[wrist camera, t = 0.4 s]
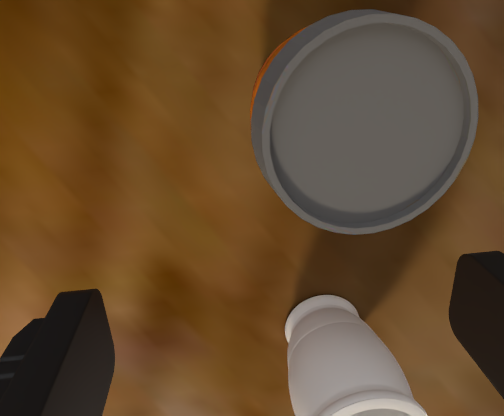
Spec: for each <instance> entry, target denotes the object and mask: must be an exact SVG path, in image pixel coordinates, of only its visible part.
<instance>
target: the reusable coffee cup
mask: <svg viewBox="0 0 504 416" xmlns="http://www.w3.org/2000/svg"><path fill="white" fill-rule="evenodd" d="M250 120H251V136H252V145H253V149H254V153H255V157H256V161H257V163H258V165H259V167H260V169H261V171H262V174H263V176H264V178H265V179H266V180H267V182H268V183H269V184H270V186H271V187H272V188H273V190H274V191H275V192H276V193H277V195H278V196H279V197H280V198H281V199H282V201H283V202H284V203H285V204H286V206H287V207H289V208H290V209H291V210H292V211H293V212H294V213H296V214H297V215H298V216H299V217H300V218H301V219H303V220H305V221H307V222H309V223H311V224H312V225H314V226H316V227H318V228H321V229H325V230H328V231H331V232H335V233H342V234H352V235H357V234H369V233H376V232H380V231H384V230H387V229H391V228H394V227H396V226H398V225H401V224H403V223H405V222H407V221H410V220H411V219H413V218H414V217H416V216H418V215H419V214H421V213H422V212H424V211H425V210H427V209H428V208H429V207H430V206H431V205H432V204H434V203H435V202H436V201H437V200H438V199H439V198H440V197H441V196H442V195H443V194H444V193H445V192H446V191H447V189H448V188H449V187H450V186H451V184H452V183H453V182H454V181H455V179H456V178H457V176H458V175H459V173H460V171H461V169H462V168H463V166H464V164H465V162H466V161H467V158H468V156H469V153H470V150H471V147H472V145H473V142H474V139H475V133H476V128H477V122H478V95H477V90H476V85H475V81H474V76H473V74H472V72H471V70H470V67H469V65H468V63H467V61H466V59H465V57H464V55H463V54H462V53H461V52H460V50H459V49H458V48H457V46H456V45H455V44H454V42H453V41H452V40H451V39H450V38H448V37H447V36H446V35H445V34H443V33H442V32H441V31H439V30H438V29H437V28H436V27H434V26H432V25H430V24H428V23H425V22H423V21H421V20H419V19H417V18H414V17H409V16H404V15H399V14H395V13H390V12H384V11H379V10H374V9H367V10H349V11H345V12H342V13H338V14H334V15H330V16H327V17H325V18H323V19H321V20H319V21H317V22H315V23H313V24H311V25H309V26H307V27H305V28H303V29H301V30H299V31H297V32H296V33H295V34H293V35H292V36H291V37H289V38H288V39H287V40H285V41H284V42H283V43H281V44H280V45H279V46H278V47H277V48H276V49H275V50H274V51H273V52H272V53H271V54H270V56H269V57H268V58H267V59H266V61H265V63H264V64H263V66H262V68H261V69H260V71H259V73H258V76H257V79H256V82H255V84H254V88H253V94H252V101H251V109H250Z"/></svg>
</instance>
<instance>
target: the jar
mask: <svg viewBox="0 0 504 416" xmlns="http://www.w3.org/2000/svg"><path fill="white" fill-rule="evenodd" d="M285 336H286V339H287V342H288V343H289V345H288V354H287V360H288V382H289V392H290V398H291V402H292V406H293V410H294V413H295V416H428V415H427V413H426V411H425V410H424V409H423V407H422V406H421V405H420V404H419V403H418V402H416V401H415V400H414V398H413V395H412V392H411V389H410V387H409V384H408V382H407V379H406V377H405V375H404V373H403V371H402V369H401V367H400V365H399V364H398V362H397V360H396V359H395V357H394V356H393V354H392V353H391V352H390V350H389V349H388V348H387V346H386V345H385V344H384V343H383V342H382V341H381V339H380V338H379V337H378V336H377V335H376V334H375V333H374V331H373V330H372V329H371V328H370V327H369V326H368V325H367V324H366V323H365V322H364V321H363V320H362V319H360V318H359V315H358V312H357V310H356V309H355V307H354V306H353V305H352V304H351V303H350V302H349V301H347V300H345V299H343V298H341V297H338V296H334V295H319V296H315V297H312V298H309V299H307V300H305V301H303V302H301V303H300V304H299V305H297V306H296V307H295V308H294V309H293V311H292V312H291V313H290V315H289V316H288V319H287V321H286V325H285Z"/></svg>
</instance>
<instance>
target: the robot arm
mask: <svg viewBox="0 0 504 416" xmlns="http://www.w3.org/2000/svg"><path fill="white" fill-rule="evenodd" d="M449 320H450V325H451V328H452V330H453V333H454V335H455V336H456V338H457V339H458V340H459V342H460V343H461V344H462V346H463V347H464V348H465V350H466V351H467V352H468V353H469V355H470V356H471V357H472V359H473V360H474V361H475V362H476V364H477V365H478V366H479V368H480V369H481V370H482V372H483V373H484V374H485V375H486V377H487V378H488V379H489V381H490V382H491V383H492V384H493V386H494V387H495V388H496V390H497V391H498V392H499V393H500V395H501V396H502V397H503V399H504V254H503V253H502V252H499V251H491V252H480V253H470V254H463V255H462V256H461V257H460V258H459V260H458V262H457V267H456V272H455V278H454V284H453V289H452V295H451V301H450V306H449ZM114 365H115V351H114V344H113V340H112V336H111V331H110V327H109V323H108V319H107V315H106V311H105V307H104V303H103V299H102V296H101V293H100V291H99V290H98V289H89V290H78V291H68V292H61V293H59V294H58V295H57V297H56V299H55V300H54V302H53V304H52V306H51V308H50V310H49V311H48V313H47V315H46V317H45V318H39V319H33V320H32V321H31V322H30V323H29V324H28V325H27V326H25V327H24V328H23V329H22V330H21V331H20V332H19V333H17V334H16V335H15V336H14V337H13V338H12V340H11V341H10V343H9V345H8V346H7V348H6V350H5V351H4V353H3V354H2V356H1V358H0V416H102V414H103V410H104V407H105V403H106V399H107V395H108V392H109V388H110V384H111V380H112V377H113V372H114Z"/></svg>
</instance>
